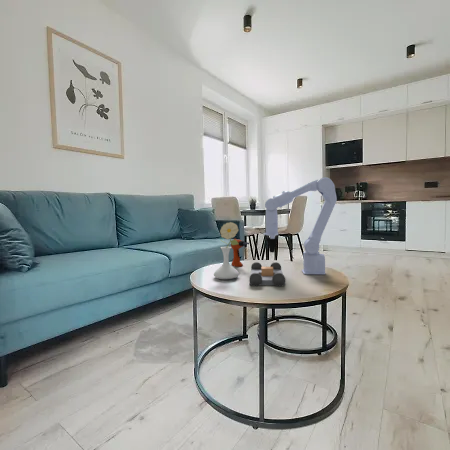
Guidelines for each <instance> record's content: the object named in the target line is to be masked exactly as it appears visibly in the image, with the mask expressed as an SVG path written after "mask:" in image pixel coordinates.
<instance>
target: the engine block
mask: <svg viewBox="0 0 450 450" xmlns="http://www.w3.org/2000/svg"><path fill="white" fill-rule="evenodd" d="M261 270H262V276H273V267H270V266H262V267H261Z"/></svg>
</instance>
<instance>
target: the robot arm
mask: <svg viewBox="0 0 450 450" xmlns="http://www.w3.org/2000/svg"><path fill="white" fill-rule="evenodd" d="M317 191H318V193H319V194H321V196H322V198H323V200H324V201H323V204H322V207H321V209H320V211H319V214H318V216H317V217H316V220H315V223H314V225H313V228H312V231H311V232H310V234H309V236H308V237H307V239H305V241H304V243H303V247H304V251H303V252H302V253H303V256H302V257H303V260H302V261H303V269H301V272H302V273H303V275H326V258H325V257H326V256H325V254H324V253H320V243H321V240H322V239H321V238H322V236H323V233H324V231H325V229H326V227H327V223H328V222H329V220H330V217H331V215H332V213H333V210H334V208H335V206H336V203H337V200H338V199H337V198H338V197H337V193H336V185H335V183H334V181H332V179H331V178H329V177H326V176H324V177H322V178H320V179H315V180H312V181H309V182H308V183H306V184H304V185H302V186H300V187H297V188H296V189H294V190H293V191H289V190H282V191H281V193H279V194H278V195H273V196H272V197H271V198H268V199H267V200H266V201H265V203H264V207H265V232H263V236H267V237H265V239H266V242H267V244H268V250H269V253H275V251H276V246H277V245H276V244H277V242H278V240H279V237H278V236H279V224H278V223H279V221H278V220H279V219H278V215H279V214H278V208H283V207H284V206H286V205H288V204H291V203H292V202H293V201H294V199H295V198H297V197H299V196H301V195H303V194H306V193H308V192H317ZM268 236H269V237H268Z"/></svg>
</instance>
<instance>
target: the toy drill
mask: <svg viewBox="0 0 450 450" xmlns="http://www.w3.org/2000/svg"><path fill="white" fill-rule="evenodd" d="M233 240H236V241H237V242H238V243H239V244H237V245H232V244H231V243H230V247H231V249H232V250H233V259H232V261H231V266H232V267H234V268H235V267H237V268H239V267H243V266H244V265H243V263H242V262H241V258H240V255H241V254H240V248H242V247H245V246H246V245H249V244H250V242H245V241H243V240H241V239H237V238H233Z"/></svg>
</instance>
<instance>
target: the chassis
mask: <svg viewBox="0 0 450 450" xmlns="http://www.w3.org/2000/svg"><path fill="white" fill-rule="evenodd" d="M261 267H263V266H262V263H260V262H258V261H255V262H253V263H252V264H251V268H250V269H251V270H250V274H249V280H248V281H249V285H250V286H253V287H258V286H275V287H282V286H283V287H284V286H286V277H285V275H284V274H283V270H282V265H281V264H280V262H278V261H277V262H276V261H275V262H272V263H271V264H270V266H269V267H273V276H262V270H261Z"/></svg>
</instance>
